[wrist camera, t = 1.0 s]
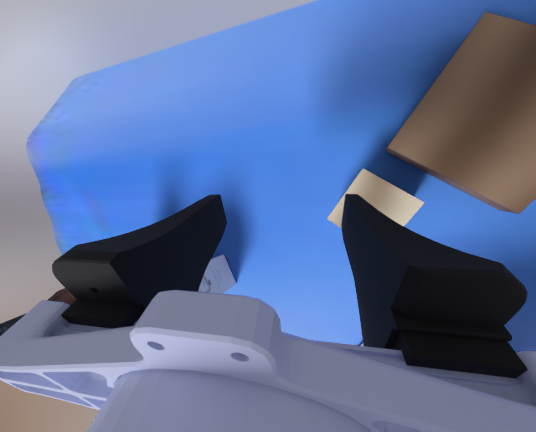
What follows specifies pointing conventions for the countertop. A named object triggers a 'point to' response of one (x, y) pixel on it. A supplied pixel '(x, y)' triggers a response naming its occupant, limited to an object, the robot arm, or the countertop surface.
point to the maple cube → (379, 199)
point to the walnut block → (481, 117)
